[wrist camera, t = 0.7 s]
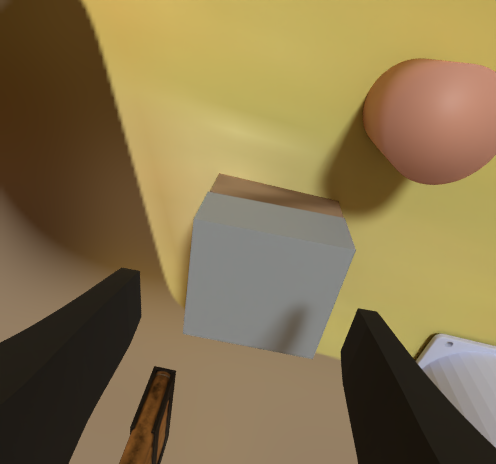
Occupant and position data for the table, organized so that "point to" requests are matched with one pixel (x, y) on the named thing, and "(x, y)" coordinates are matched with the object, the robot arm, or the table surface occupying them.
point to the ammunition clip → (151, 420)
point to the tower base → (274, 195)
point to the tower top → (264, 274)
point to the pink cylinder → (433, 118)
